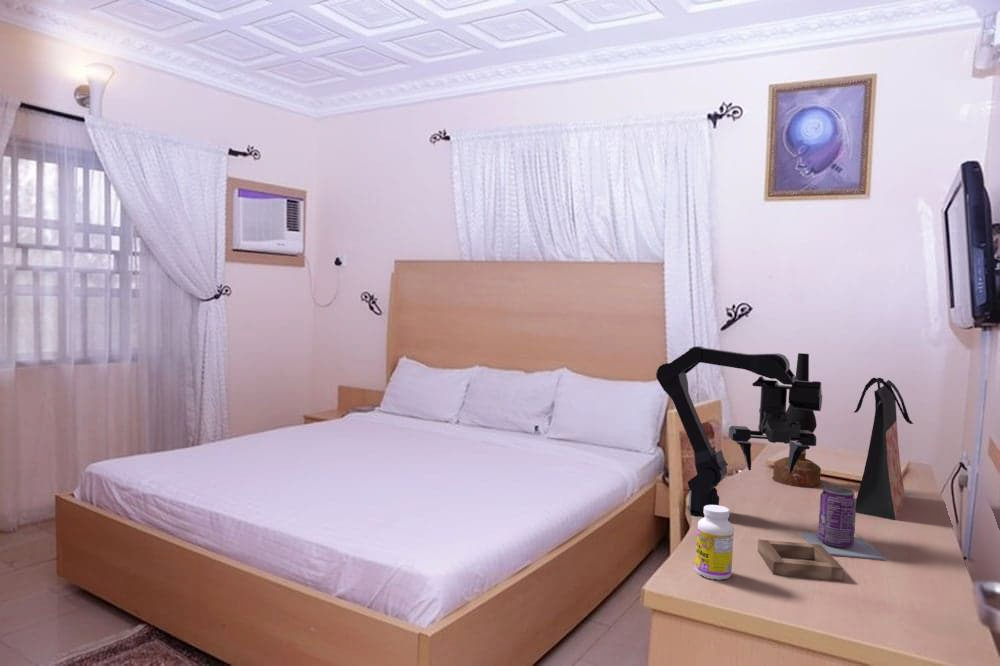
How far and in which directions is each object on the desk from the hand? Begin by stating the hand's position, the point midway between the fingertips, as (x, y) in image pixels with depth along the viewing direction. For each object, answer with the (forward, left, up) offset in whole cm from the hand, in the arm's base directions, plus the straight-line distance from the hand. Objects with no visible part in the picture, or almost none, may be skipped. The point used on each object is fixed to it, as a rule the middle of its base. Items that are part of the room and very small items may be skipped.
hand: (769, 471), depth 157 cm
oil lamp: (+20, +47, -13) cm, 53 cm away
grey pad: (+13, -11, -13) cm, 21 cm away
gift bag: (+35, +26, -13) cm, 45 cm away
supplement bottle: (-18, -34, -13) cm, 41 cm away
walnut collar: (0, -25, -13) cm, 28 cm away
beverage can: (+12, -11, -13) cm, 20 cm away
